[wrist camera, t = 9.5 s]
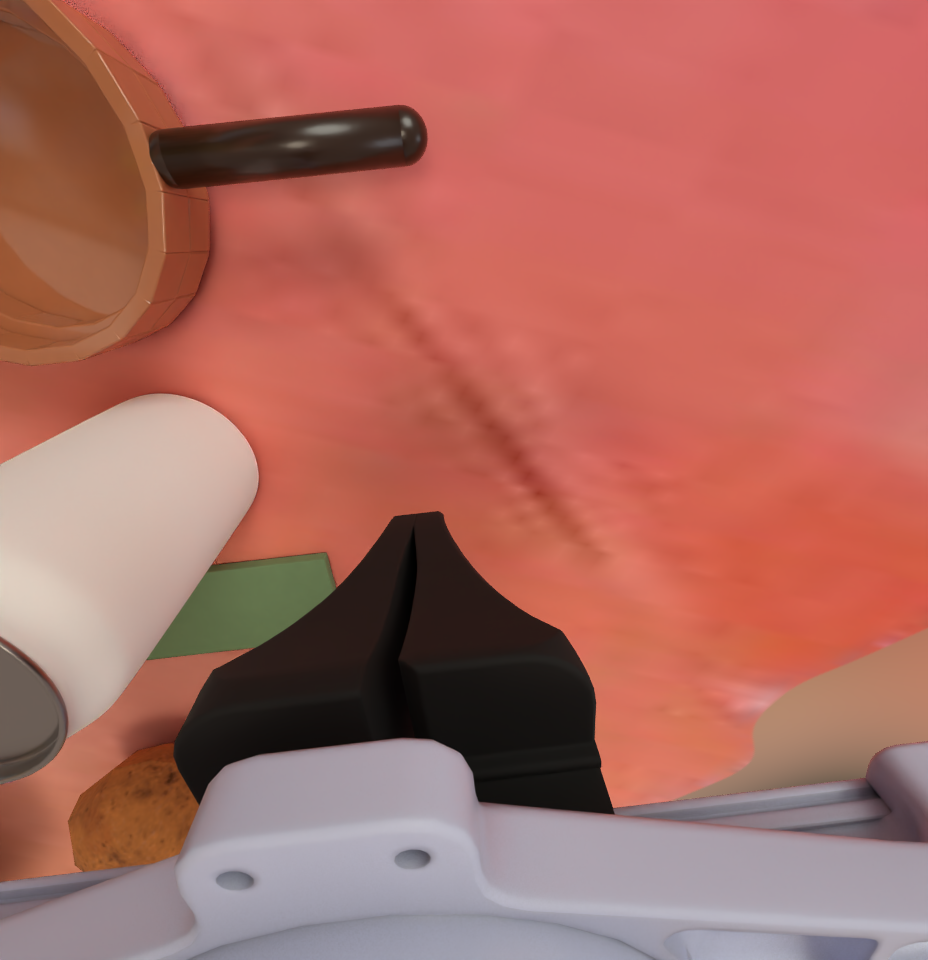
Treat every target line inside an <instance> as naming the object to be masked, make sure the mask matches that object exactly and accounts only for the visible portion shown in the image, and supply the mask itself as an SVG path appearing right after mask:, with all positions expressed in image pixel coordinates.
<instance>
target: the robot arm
mask: <svg viewBox="0 0 928 960" xmlns="http://www.w3.org/2000/svg"><path fill="white" fill-rule="evenodd" d="M595 715H596V699H595V692H594V688H593V685H592V682H591V680H590V677H589V675H588V673H587V671H586V669H585V667H584V665H583V664H582V662H581V660H580V658H579V656H578V655H577V653H576V651H575V650H574V648H573V647H572V645H571V644H570V642H569V641H568V639H567V638H566V636H565V635H564V633H563V632H562V631H561V630H559V629H557V628H555V627H553V626H551V625H549V624H547V623H545V622H543V621H541V620H539V619H537V618H535V617H533V616H531V615H529V614H528V613H526V612H524V611H523V610H521V609H519V608H518V607H517V606H515V605H514V604H513V603H511V602H510V601H509V600H507V599H506V598H505V597H503V596H502V595H501V594H499V593H498V592H497V591H496V590H495V589H494V588H493V587H492V586H491V585H489V584H488V583H487V582H486V581H485V580H484V579H483V578H482V577H481V576H480V574H479V573H478V572H477V571H476V570H475V569H474V568H473V566H472V565H471V564H470V563H469V561H468V560H467V559H466V558H465V556H464V555H463V553H462V552H461V551H460V549H459V548H458V546H457V544H456V543H455V541H454V540H453V538H452V536H451V534H450V532H449V530H448V528H447V526H446V524H445V521H444V515H443V514H442V513H441V512H439V511H436V512H427V513H418V514H410V515H401V516H394V517H393V519H392V520H391V521H390V523H389V524H388V526H387V527H386V528H385V530H384V531H383V533H382V534H381V536H380V537H379V539H378V540H377V541H376V543H375V544H374V545H373V547H372V548H371V549H370V551H369V552H368V553H367V555H366V556H365V557H364V559H363V560H362V561H361V562H360V563H359V565H358V566H357V567H356V568H355V569H354V570H353V571H352V573H351V574H350V575H349V576H348V577H347V578H346V579H345V580H344V581H343V582H342V583H341V584H340V585H339V586H338V587H337V588H336V589H335V590H334V591H333V592H332V593H331V594H330V595H329V596H328V597H327V598H325V599H324V600H323V601H322V602H321V603H319V604H318V605H317V606H316V607H314V608H313V609H312V610H310V611H309V612H308V613H307V614H305V615H304V616H303V617H302V618H300V619H299V620H298V621H296V622H295V623H294V624H292V625H291V626H289V627H288V628H286V629H285V630H283V631H282V632H280V633H279V634H277V635H276V636H274V637H272V638H271V639H269V640H268V641H266V642H264V643H263V644H261V645H259V646H258V647H256V648H254V649H253V650H251V651H249V652H247V653H245V654H243V655H241V656H239V657H238V658H236V659H234V660H232V661H230V662H228V663H226V664H224V665H223V666H221V667H218V668H216V669H214V670H213V671H212V673H211V674H210V676H209V678H208V679H207V681H206V683H205V684H204V686H203V688H202V689H201V691H200V693H199V695H198V697H197V699H196V701H195V703H194V705H193V707H192V709H191V711H190V713H189V715H188V717H187V719H186V720H185V722H184V724H183V726H182V728H181V730H180V732H179V734H178V736H177V738H176V740H175V742H174V753H173V757H174V760H175V762H176V765H177V768H178V770H179V772H180V774H181V775H182V777H183V779H184V781H185V782H186V784H187V786H188V787H189V789H190V791H191V793H192V794H193V796H194V798H195V799H196V801H197V803H198V804H199V808H198V811H197V813H196V815H195V818H194V820H193V823H192V825H191V827H190V830H189V832H188V835H187V837H186V839H185V842H184V844H183V847H182V849H181V851H180V854H178V855H175V856H173V857H170V858H167V859H164V860H162V861H159V862H156V863H153V864H145V865H137V866H129V867H120V868H112V869H104V870H95V871H87V872H79V873H70V874H62V875H54V876H45V877H37V878H29V879H20V880H12V881H4V882H0V960H928V741H926V742H917V743H909V744H900V745H894V746H890V747H886V748H884V749H883V750H881V751H879V752H877V753H876V754H875V755H874V756H873V758H872V759H871V761H870V763H869V765H868V769H867V773H866V778H860V779H853V780H844V781H835V782H827V783H819V784H811V785H802V786H794V787H786V788H778V789H769V790H761V791H753V792H744V793H736V794H727V795H719V796H711V797H703V798H695V799H686V800H677V801H669V802H661V803H653V804H644V805H636V806H628V807H619V808H613V807H612V804H611V801H610V797H609V794H608V791H607V788H606V785H605V782H604V779H603V776H602V773H601V769H600V768H601V758H600V755H599V752H598V749H597V745H596V742H595V739H594V738H595Z"/></svg>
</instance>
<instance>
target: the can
mask: <svg viewBox="0 0 928 960" xmlns="http://www.w3.org/2000/svg"><path fill="white" fill-rule="evenodd" d="M258 483H259V473H258V466H257V462H256V458H255V456H254V453H253V451H252V449H251V447H250V445H249V443H248V442H247V440H246V438H245V437H244V436H243V434H242V433H241V432H240V431H239V430H238V428H237V427H236V426H235V425H234V424H233V423H232V422H231V421H229V420H228V419H227V418H226V417H225V416H223V415H222V414H221V413H219V412H218V411H216V410H215V409H213V408H211V407H209V406H207V405H205V404H203V403H201V402H199V401H196V400H194V399H191V398H187V397H184V396H179V395H174V394H161V393H159V394H147V395H142V396H138V397H134V398H132V399H129V400H126V401H124V402H122V403H120V404H118V405H116V406H114V407H112V408H110V409H108V410H106V411H104V412H102V413H100V414H98V415H96V416H94V417H92V418H90V419H88V420H86V421H84V422H82V423H80V424H78V425H76V426H74V427H72V428H70V429H68V430H66V431H64V432H62V433H60V434H58V435H57V436H55V437H53V438H51V439H49V440H47V441H45V442H43V443H41V444H39V445H37V446H35V447H33V448H31V449H29V450H27V451H25V452H23V453H21V454H20V455H18V456H16V457H14V458H12V459H10V460H8V461H6V462H4V463H2V464H0V784H4V783H8V782H12V781H15V780H19V779H21V778H24V777H26V776H29V775H31V774H33V773H35V772H37V771H38V770H40V769H42V768H43V767H44V766H46V765H47V764H48V763H49V762H50V761H52V760H53V759H54V757H55V756H56V755H57V754H58V753H59V751H60V750H61V748H62V746H63V744H64V742H65V740H66V739H67V738H69V737H70V736H72V735H74V734H75V733H77V732H78V731H80V730H82V729H83V728H85V727H86V726H88V725H89V724H91V723H92V722H94V721H95V720H96V719H98V718H99V717H100V716H102V715H103V714H104V713H105V712H106V711H107V710H108V709H109V708H110V707H111V706H112V705H113V704H114V703H115V701H116V700H117V699H118V698H119V697H120V696H121V694H122V693H123V691H124V690H125V689H126V687H127V686H128V685H129V683H130V682H131V681H132V679H133V678H134V676H135V675H136V674H137V672H138V671H139V669H140V668H141V666H142V665H143V664H144V662H145V661H146V659H147V658H148V656H149V655H150V653H151V652H152V651H153V649H154V648H155V646H156V645H157V643H158V642H159V640H160V639H161V638H162V636H163V635H164V633H165V632H166V630H167V629H168V627H169V626H170V625H171V623H172V622H173V620H174V619H175V617H176V616H177V614H178V613H179V611H180V610H181V609H182V607H183V606H184V604H185V603H186V601H187V600H188V598H189V597H190V595H191V594H192V592H193V591H194V590H195V588H196V587H197V585H198V584H199V582H200V581H201V579H202V578H203V576H204V575H205V573H206V572H207V571H208V569H209V568H210V566H211V565H212V563H213V562H214V560H215V559H216V557H217V556H218V554H219V553H220V551H221V550H222V548H223V547H224V546H225V544H226V543H227V541H228V540H229V538H230V537H231V535H232V534H233V532H234V531H235V529H236V528H237V526H238V525H239V523H240V522H241V520H242V519H243V517H244V516H245V514H246V513H247V511H248V509H249V508H250V506H251V505H252V503H253V501H254V498H255V496H256V493H257V489H258Z"/></svg>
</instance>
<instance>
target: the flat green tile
mask: <svg viewBox="0 0 928 960" xmlns="http://www.w3.org/2000/svg"><path fill="white" fill-rule="evenodd" d="M335 589H336V586H335V582H334V578H333V575H332V571H331V567H330V564H329V560H328V556H327V553H317V554H308V555H299V556H290V557H281V558H273V559H264V560H255V561H246V562H237V563H228V564H219V565H211V566H210V568H209V569H208V571H207V572H206V573H205V575H204V576H203V578H202V579H201V581H200V582H199V584H198V585H197V587H196V588H195V590H194V591H193V592H192V594H191V595H190V597H189V598H188V600H187V601H186V603H185V604H184V606H183V607H182V609H181V610H180V611H179V613H178V614H177V616H176V617H175V619H174V620H173V622H172V623H171V625H170V626H169V627H168V629H167V630H166V632H165V633H164V635H163V636H162V638H161V639H160V640H159V642H158V643H157V645H156V646H155V648H154V649H153V651H152V652H151V653H150V655H149V656H148V658H147V659H146V660H152V659H160V658H169V657H178V656H187V655H195V654H204V653H213V652H221V651H230V650H239V649H248V648H256V647H258V646H259V645H261V644H263V643H264V642H266V641H268V640H269V639H271V638H272V637H274V636H276V635H277V634H279V633H280V632H282V631H283V630H285V629H286V628H288V627H289V626H291V625H292V624H294V623H295V622H296V621H298V620H299V619H300V618H302V617H303V616H304V615H305V614H307V613H308V612H309V611H310V610H312V609H313V608H314V607H316V606H317V605H318V604H319V603H321V602H322V601H323V600H324V599H325V598H327V597H328V596H329V595H330V594H331V593H332V592H333V591H334V590H335Z"/></svg>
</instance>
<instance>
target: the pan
mask: <svg viewBox="0 0 928 960" xmlns="http://www.w3.org/2000/svg"><path fill="white" fill-rule="evenodd" d="M176 127H183V125H182V123H181V122H180V120H179V118H178V116H177V115H176V113H175V111H174V110H173V108H172V106H171V104H170V103H169V101H168V99H167V97H166V96H165V94H164V92H163V90H162V89H161V87H160V86H159V84H158V83H157V82H156V80H155V79H154V78H153V77H152V76H151V75H150V74H149V73H148V72H147V71H146V70H145V69H144V68H143V67H142V65H141V64H140V63H139V62H138V61H137V60H136V59H135V58H134V57H133V56H132V55H131V54H130V53H129V51H128V50H127V49H126V48H125V47H124V46H123V45H122V44H121V43H120V42H119V41H118V40H117V39H116V38H115V36H114V35H113V34H111V33H110V32H109V31H108V30H106V29H105V28H103V27H102V26H100V25H99V24H97V23H96V22H94V21H93V20H91V19H89V18H88V17H86V16H85V15H83V14H82V13H80V12H79V11H77V10H76V9H74V8H73V7H71V6H70V5H68V4H67V3H65V2H64V1H62V0H0V361H6V362H11V363H17V364H22V365H27V366H37V365H47V364H56V363H65V362H75V361H81V360H84V359H87V358H90V357H93V356H96V355H99V354H102V353H105V352H108V351H111V350H114V349H117V348H120V347H123V346H126V345H129V344H132V343H135V342H137V341H139V340H141V339H143V338H145V337H147V336H149V335H151V334H153V333H155V332H157V331H159V330H161V329H163V328H165V327H167V326H168V325H169V324H171V323H172V322H173V321H174V320H175V318H176V317H177V316H178V315H179V314H180V313H181V311H182V310H183V309H184V308H185V307H186V306H187V304H188V303H189V302H190V301H191V300H192V299H193V297H194V296H195V293H196V292H197V289H198V286H199V283H200V280H201V277H202V274H203V271H204V268H205V265H206V262H207V259H208V256H209V252H208V251H209V250H210V224H209V201H208V200H209V196H208V193H207V189H206V187H201V188H191V189H176V188H173V187H170V186H169V185H167V184H166V183H165V181H164V180H163V179H162V177H161V176H160V174H159V173H158V171H157V169H156V168H155V166H154V164H153V163H152V161H151V158H150V154H149V137H150V135H151V133H153V132H155V131H156V130H160V129H166V128H176Z"/></svg>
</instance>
